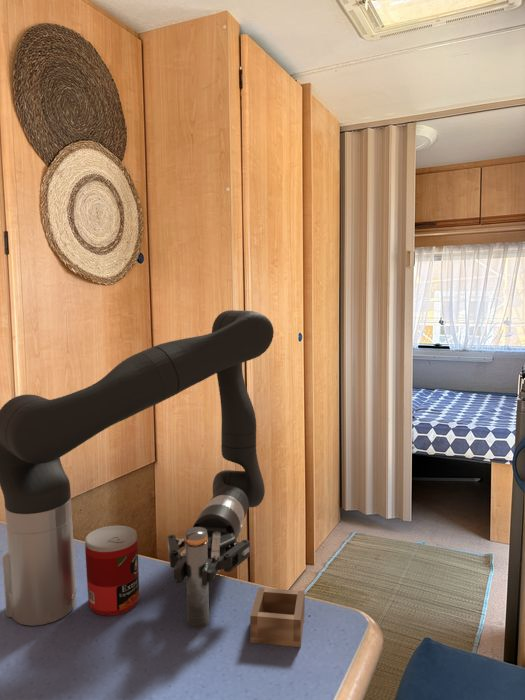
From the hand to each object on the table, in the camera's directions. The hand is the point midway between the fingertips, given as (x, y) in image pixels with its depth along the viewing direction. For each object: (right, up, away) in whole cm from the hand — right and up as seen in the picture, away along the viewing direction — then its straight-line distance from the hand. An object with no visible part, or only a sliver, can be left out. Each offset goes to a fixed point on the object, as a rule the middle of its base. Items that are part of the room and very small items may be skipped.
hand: (191, 578), depth 75 cm
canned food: (-13, -8, +9) cm, 18 cm away
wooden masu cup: (+12, -8, +2) cm, 15 cm away
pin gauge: (+1, -8, +4) cm, 9 cm away
